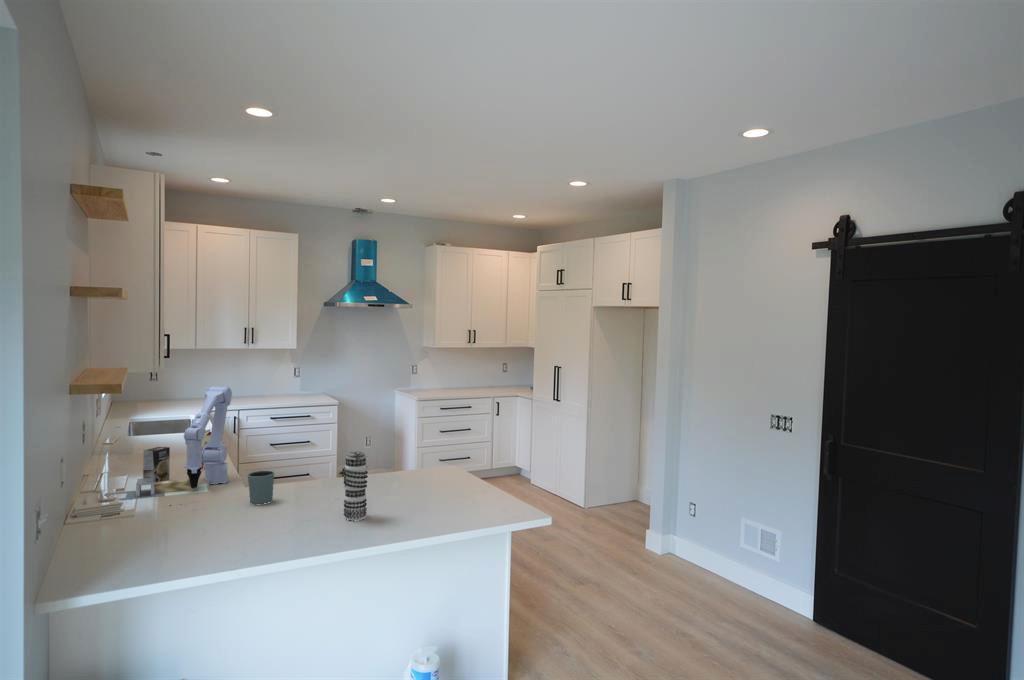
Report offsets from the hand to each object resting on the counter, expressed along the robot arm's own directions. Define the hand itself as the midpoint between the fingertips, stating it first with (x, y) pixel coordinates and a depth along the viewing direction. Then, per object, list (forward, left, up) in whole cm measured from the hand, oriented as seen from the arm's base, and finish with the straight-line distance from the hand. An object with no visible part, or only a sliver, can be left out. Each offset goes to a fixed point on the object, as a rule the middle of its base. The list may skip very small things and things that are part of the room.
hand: (194, 486), depth 264 cm
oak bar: (+7, 0, -1) cm, 7 cm away
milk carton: (-6, -46, -3) cm, 46 cm away
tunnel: (+18, 0, -1) cm, 18 cm away
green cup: (-24, +27, -3) cm, 36 cm away
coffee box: (+15, -22, -3) cm, 27 cm away
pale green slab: (+14, 0, -3) cm, 14 cm away
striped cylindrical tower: (-54, +63, -3) cm, 83 cm away
